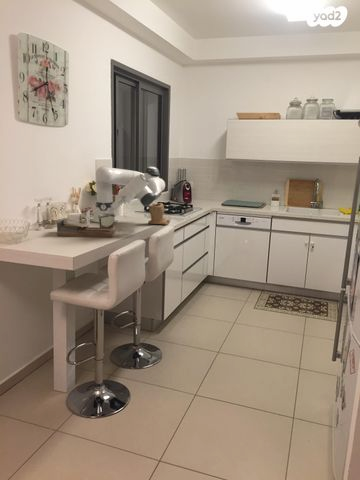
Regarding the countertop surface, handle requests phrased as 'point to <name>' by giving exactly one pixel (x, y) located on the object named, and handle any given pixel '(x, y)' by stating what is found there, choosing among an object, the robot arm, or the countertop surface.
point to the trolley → (78, 219)
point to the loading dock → (83, 231)
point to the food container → (106, 220)
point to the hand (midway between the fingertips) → (109, 211)
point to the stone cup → (157, 214)
